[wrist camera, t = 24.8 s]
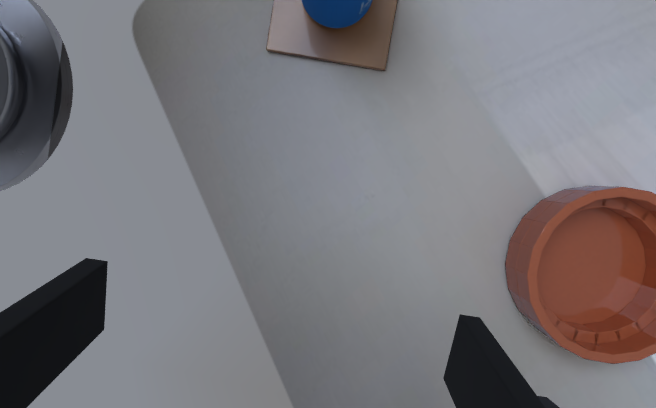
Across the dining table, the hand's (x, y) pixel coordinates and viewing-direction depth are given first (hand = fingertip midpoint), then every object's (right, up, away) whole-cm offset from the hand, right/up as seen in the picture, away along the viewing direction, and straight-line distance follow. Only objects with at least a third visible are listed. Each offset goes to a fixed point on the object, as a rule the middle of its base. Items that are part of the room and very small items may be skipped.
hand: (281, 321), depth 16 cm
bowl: (+26, -1, +24) cm, 35 cm away
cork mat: (+2, +23, +23) cm, 33 cm away
